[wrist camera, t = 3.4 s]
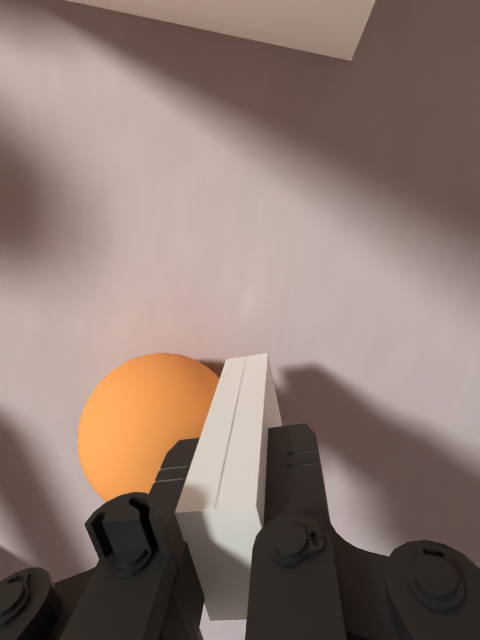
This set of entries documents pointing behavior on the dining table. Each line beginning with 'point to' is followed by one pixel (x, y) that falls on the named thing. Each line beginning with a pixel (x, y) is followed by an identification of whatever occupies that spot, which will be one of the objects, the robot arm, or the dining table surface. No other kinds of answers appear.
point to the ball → (142, 420)
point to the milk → (263, 20)
